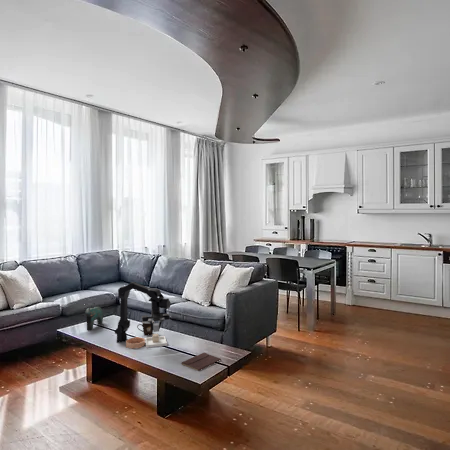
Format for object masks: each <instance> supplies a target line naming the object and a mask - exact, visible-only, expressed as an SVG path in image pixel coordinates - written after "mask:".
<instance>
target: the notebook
mask: <svg viewBox="0 0 450 450" xmlns="http://www.w3.org/2000/svg"><path fill="white" fill-rule="evenodd" d="M219 360H221V361H222V359H221V358H219V357H217V356H214V355H211V354H209V353H207V352H202V353H199V354H197V355H195V356H193V357H190V358H188V359H186V360H184V361H181V362H180V365H182V366H184V367H187V368H190V369H193V370H194V371H197V372H200V371H202V370H204V369H206V368H208V366H209V365H211V366H213V365H215V364H216V363H215V362H217V361H219ZM219 362H220V361H219ZM214 363H215V364H214ZM217 363H218V362H217ZM212 364H213V365H212ZM209 367H210V366H209ZM201 369H202V370H201Z"/></svg>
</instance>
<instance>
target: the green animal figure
mask: <svg viewBox="0 0 450 450" xmlns="http://www.w3.org/2000/svg"><path fill="white" fill-rule="evenodd" d="M93 305H95V303H94V302H93V303H91V307H88V308H86V310H85V313H84V314H85V316H86V331H93V329H94V324H95V320H96V322H97V325H99V324H100V325H102V324H103V322H104V312H103V309H102V307H101V305H99V304H98V305H95V306H93Z"/></svg>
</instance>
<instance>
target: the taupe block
mask: <svg viewBox="0 0 450 450" xmlns="http://www.w3.org/2000/svg"><path fill="white" fill-rule="evenodd" d="M151 337H152V341H153V342H159V334H158V333H153V334H152V336H151Z"/></svg>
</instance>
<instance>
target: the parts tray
mask: <svg viewBox="0 0 450 450" xmlns="http://www.w3.org/2000/svg"><path fill="white" fill-rule="evenodd" d="M158 336H159V335H158ZM144 339H145V346H146V348H155V347H156V348H157V347H163V346H168V342H167V339H166V336H165V335H160V336H159V342H153V341H152V336H150V337H148V336H147V337H145V338H144Z"/></svg>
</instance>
